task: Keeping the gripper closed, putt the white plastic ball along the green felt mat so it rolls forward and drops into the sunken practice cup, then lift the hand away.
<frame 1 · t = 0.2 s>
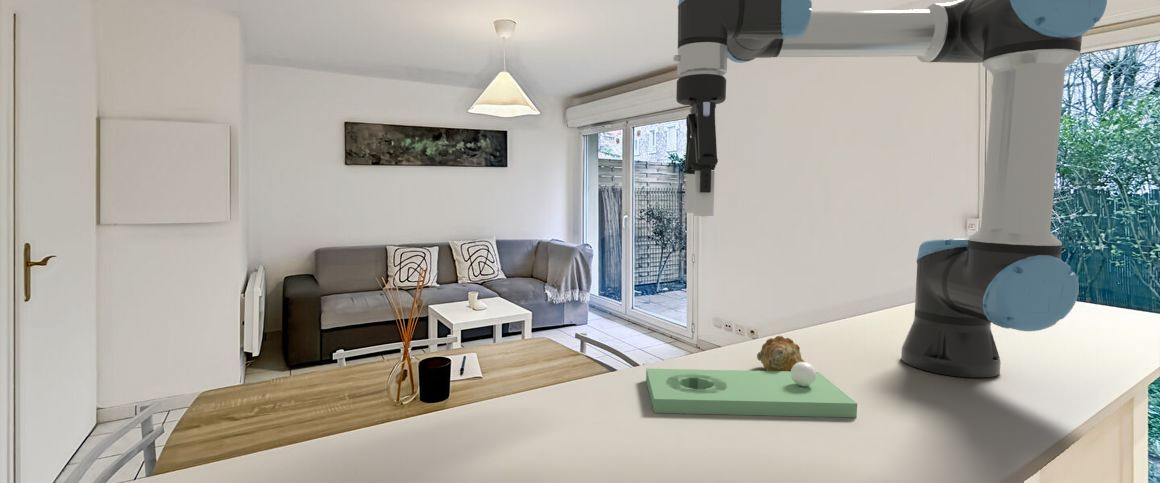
hand: (697, 214, 90), 28 cm above the kitchen counter, fingers open, 13 cm apart
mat: (742, 397, 87), on the kitchen counter
ball: (803, 374, 86), point 4 cm above the kitchen counter, touching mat
seashell: (781, 373, 99), on the kitchen counter
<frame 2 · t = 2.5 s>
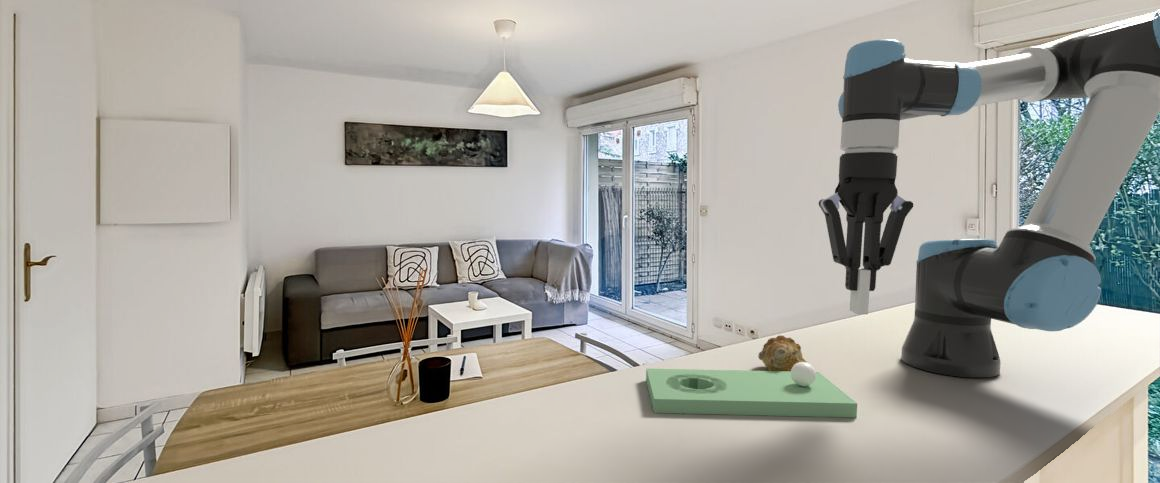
hand: (858, 312, 85), 13 cm above the kitchen counter, fingers closed
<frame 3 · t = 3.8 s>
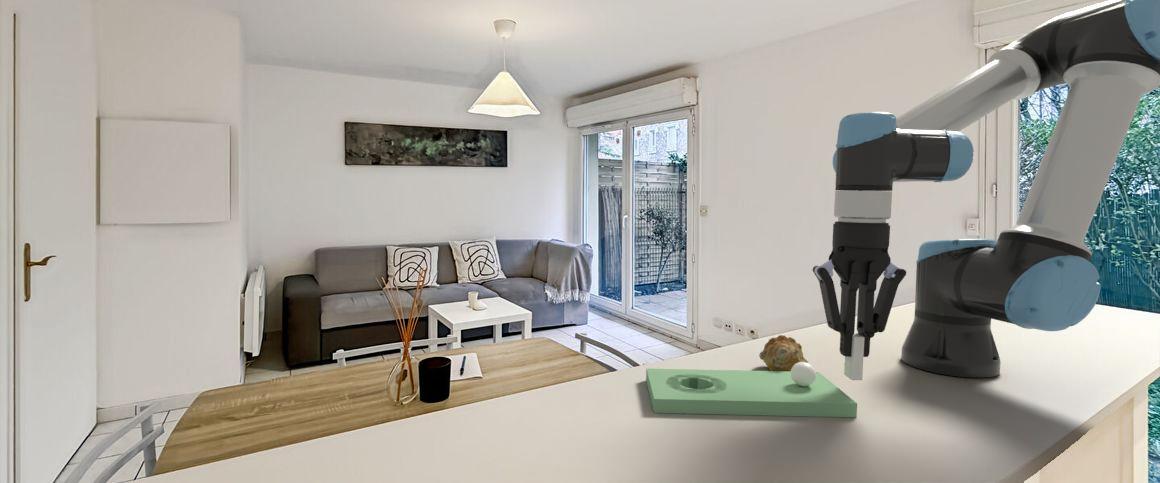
hand: (853, 377, 86), 3 cm above the kitchen counter, fingers closed
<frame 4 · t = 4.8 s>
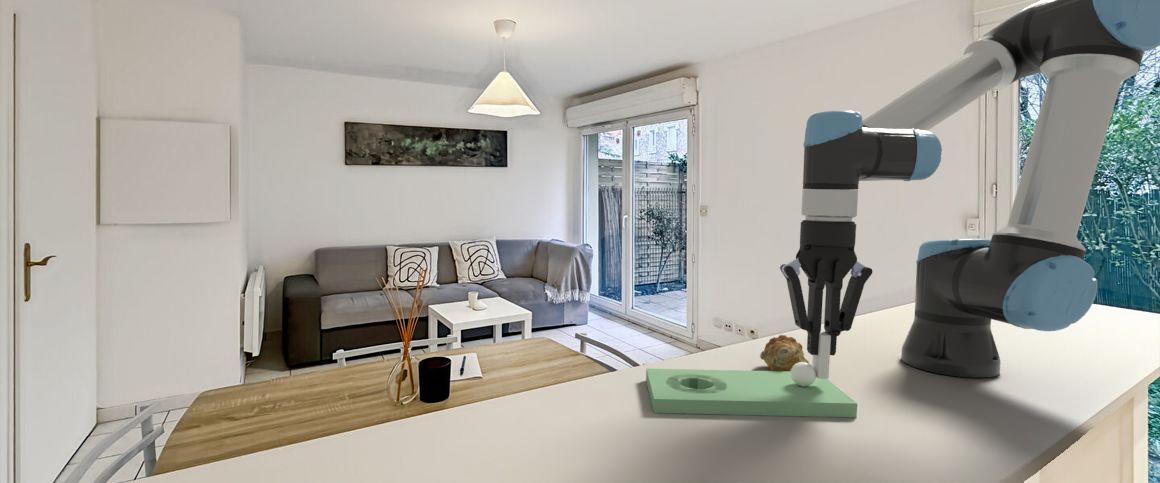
hand: (819, 375, 86), 4 cm above the kitchen counter, fingers closed
ball: (803, 374, 86), point 4 cm above the kitchen counter, touching gripper, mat
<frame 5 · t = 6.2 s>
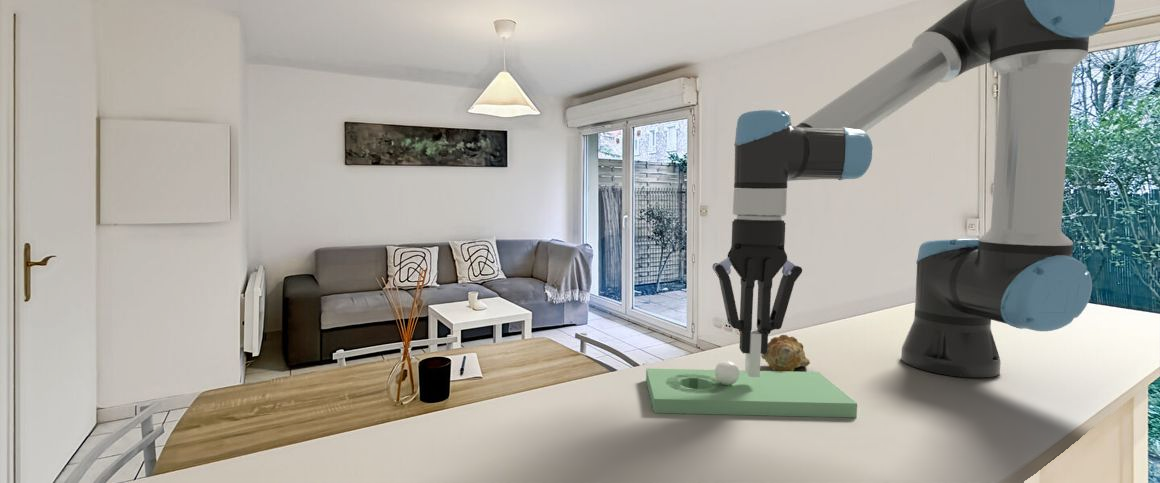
hand: (752, 374, 86), 4 cm above the kitchen counter, fingers closed
ball: (727, 372, 86), point 4 cm above the kitchen counter, touching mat
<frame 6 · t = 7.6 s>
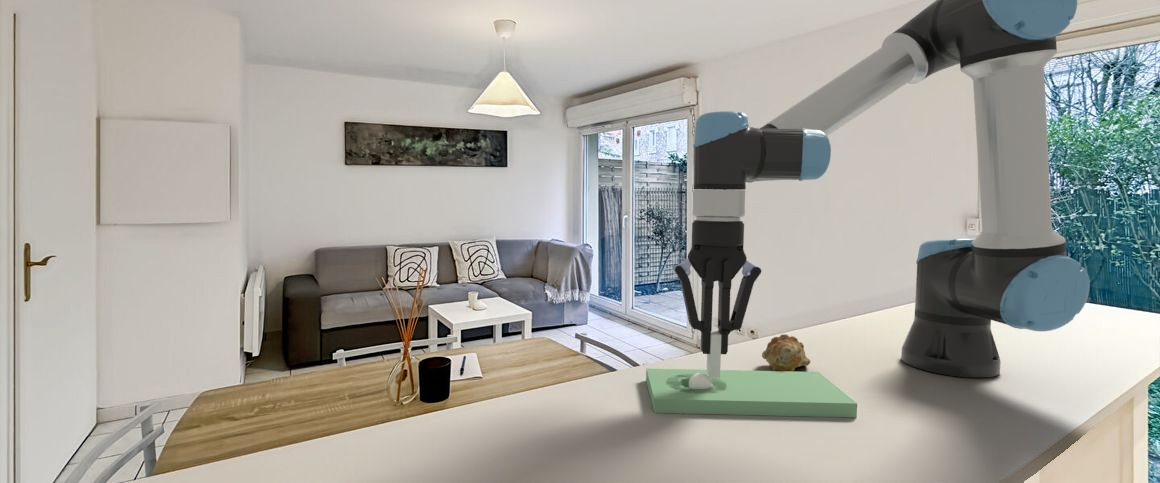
hand: (713, 374, 86), 3 cm above the kitchen counter, fingers closed
ball: (700, 385, 87), point 2 cm above the kitchen counter, tilted 144°, touching gripper
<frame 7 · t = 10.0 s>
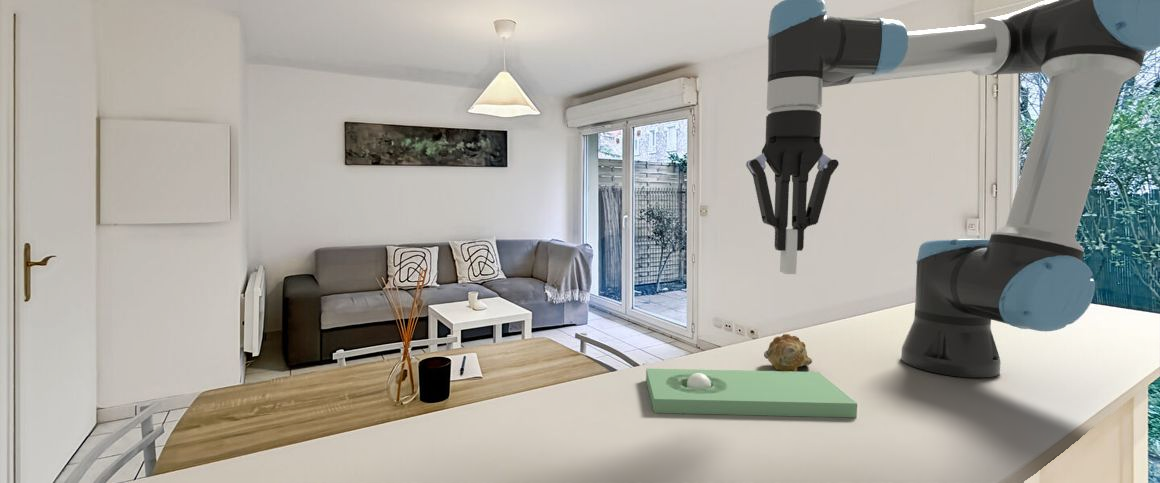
hand: (787, 272, 85), 19 cm above the kitchen counter, fingers closed
ball: (698, 385, 87), point 2 cm above the kitchen counter, tilted 153°
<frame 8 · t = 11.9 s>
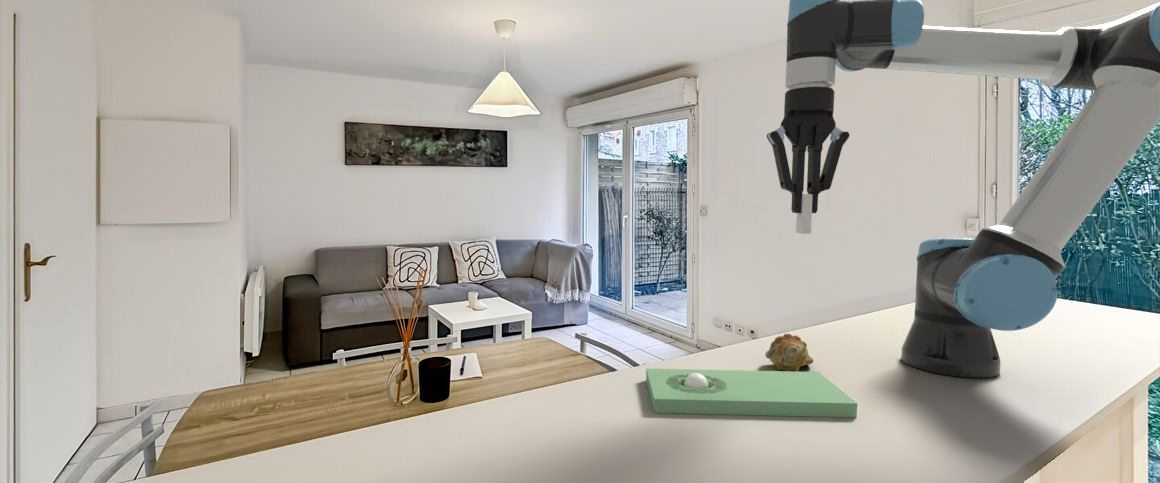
hand: (803, 233, 95), 24 cm above the kitchen counter, fingers closed
ball: (696, 385, 87), point 2 cm above the kitchen counter, tilted 166°
at the end: ball 0.1 cm from the target spot in the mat, point 1.8 cm above the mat's base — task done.
